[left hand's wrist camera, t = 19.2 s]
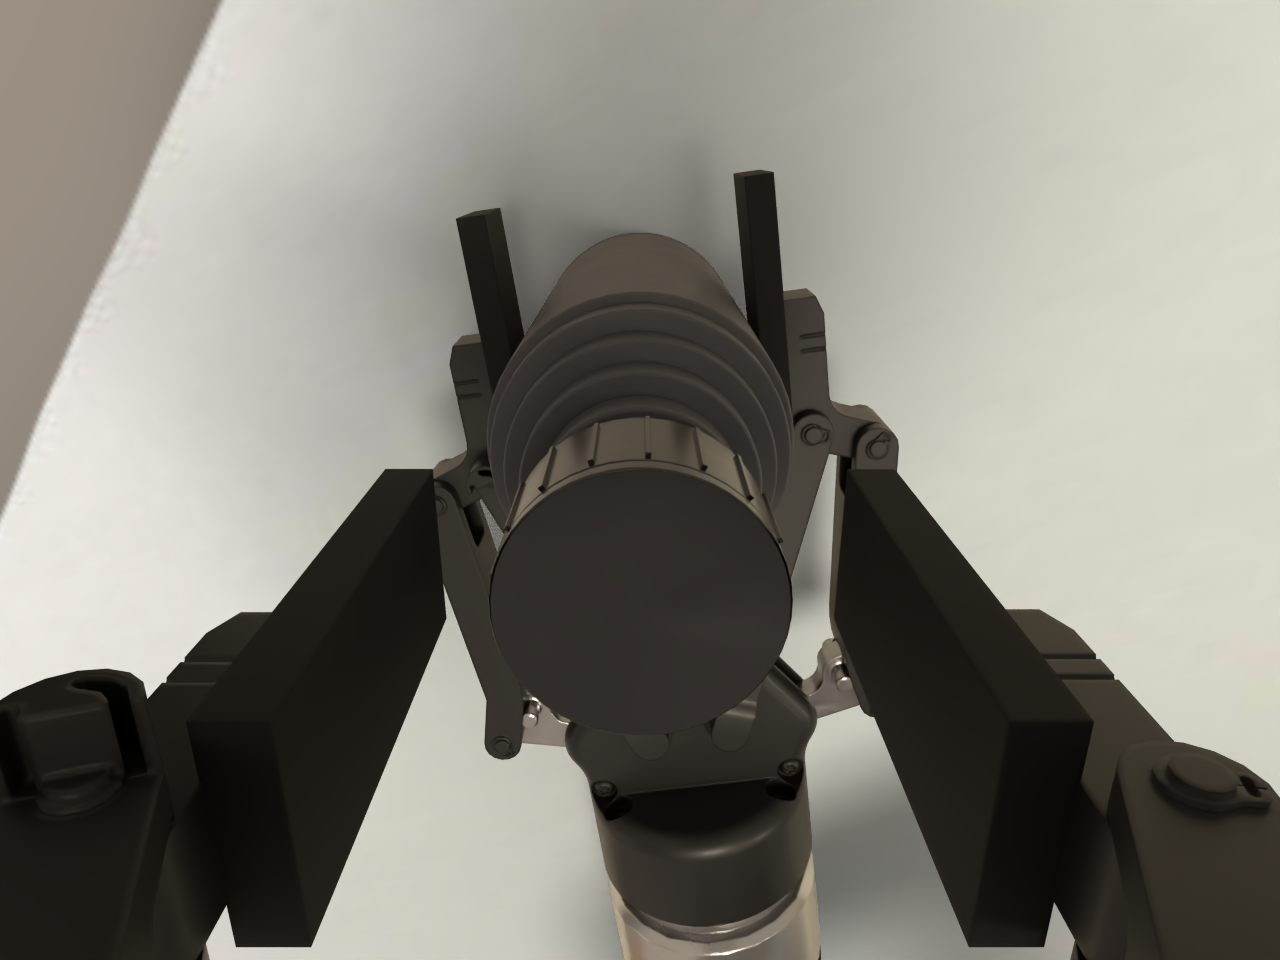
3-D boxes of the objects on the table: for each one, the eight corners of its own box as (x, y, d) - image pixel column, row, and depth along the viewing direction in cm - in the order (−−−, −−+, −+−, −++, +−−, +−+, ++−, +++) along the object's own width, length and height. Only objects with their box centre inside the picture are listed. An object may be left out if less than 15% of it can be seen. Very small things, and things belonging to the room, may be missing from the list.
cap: (814, 462, 14) (847, 521, 12) (718, 683, 16) (731, 771, 13) (553, 377, 14) (536, 421, 11) (480, 613, 15) (452, 694, 13)
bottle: (537, 239, 30) (377, 382, 12) (731, 226, 30) (875, 352, 12) (556, 423, 33) (446, 784, 14) (735, 413, 33) (861, 763, 14)
